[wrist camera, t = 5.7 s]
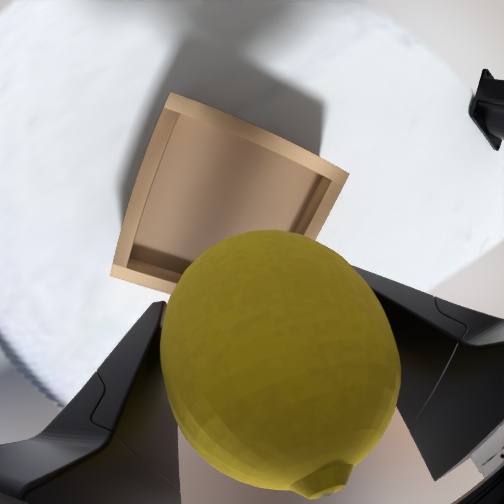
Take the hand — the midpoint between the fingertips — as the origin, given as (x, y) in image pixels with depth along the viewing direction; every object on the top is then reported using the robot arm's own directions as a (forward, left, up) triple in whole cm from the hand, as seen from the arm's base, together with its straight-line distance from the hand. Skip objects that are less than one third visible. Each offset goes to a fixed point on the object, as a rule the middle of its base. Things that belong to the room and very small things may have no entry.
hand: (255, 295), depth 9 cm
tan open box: (0, 0, -11) cm, 11 cm away
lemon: (0, 0, -2) cm, 2 cm away
